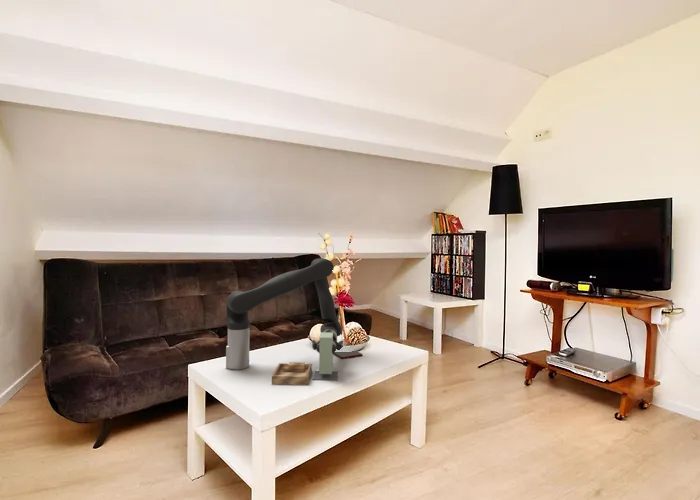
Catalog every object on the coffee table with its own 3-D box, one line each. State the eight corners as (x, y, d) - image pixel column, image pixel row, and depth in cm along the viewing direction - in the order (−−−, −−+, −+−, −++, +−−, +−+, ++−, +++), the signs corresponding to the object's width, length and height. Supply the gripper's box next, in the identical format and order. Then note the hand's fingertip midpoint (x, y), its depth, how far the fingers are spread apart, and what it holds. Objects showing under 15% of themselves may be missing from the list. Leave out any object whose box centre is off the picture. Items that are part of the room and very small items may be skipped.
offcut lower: (282, 371, 160) (282, 368, 159) (284, 369, 163) (284, 365, 163) (304, 372, 159) (304, 368, 159) (305, 369, 163) (305, 366, 163)
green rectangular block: (319, 373, 155) (319, 337, 155) (321, 367, 163) (321, 332, 163) (331, 374, 155) (331, 337, 155) (332, 367, 163) (333, 332, 163)
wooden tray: (271, 384, 149) (271, 375, 149) (279, 370, 164) (279, 363, 164) (307, 384, 149) (307, 376, 149) (311, 371, 164) (311, 363, 164)
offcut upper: (288, 368, 159) (288, 364, 159) (289, 365, 163) (289, 362, 163) (303, 368, 159) (303, 365, 159) (304, 366, 163) (304, 362, 163)
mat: (312, 380, 154) (312, 379, 154) (315, 371, 164) (315, 370, 164) (337, 380, 154) (337, 379, 154) (338, 371, 164) (338, 371, 164)
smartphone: (340, 342, 209) (363, 353, 187) (340, 344, 209) (363, 357, 187) (319, 344, 203) (341, 357, 181) (319, 347, 203) (341, 360, 181)
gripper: (313, 330, 173) (308, 341, 156) (344, 331, 173) (343, 341, 156) (312, 346, 173) (308, 359, 156) (344, 347, 173) (343, 359, 156)
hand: (325, 350), depth 156 cm, fingers closed on green rectangular block, 5 cm apart
